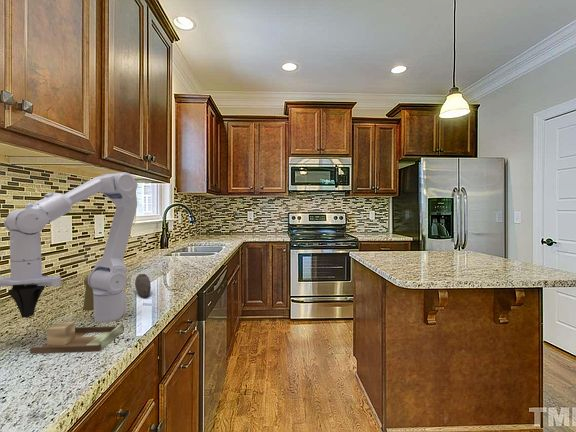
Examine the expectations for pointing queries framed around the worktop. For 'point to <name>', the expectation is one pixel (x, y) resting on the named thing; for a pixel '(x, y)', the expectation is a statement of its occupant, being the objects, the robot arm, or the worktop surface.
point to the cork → (88, 296)
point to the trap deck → (84, 341)
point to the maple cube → (61, 333)
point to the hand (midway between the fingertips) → (27, 316)
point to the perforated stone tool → (143, 285)
